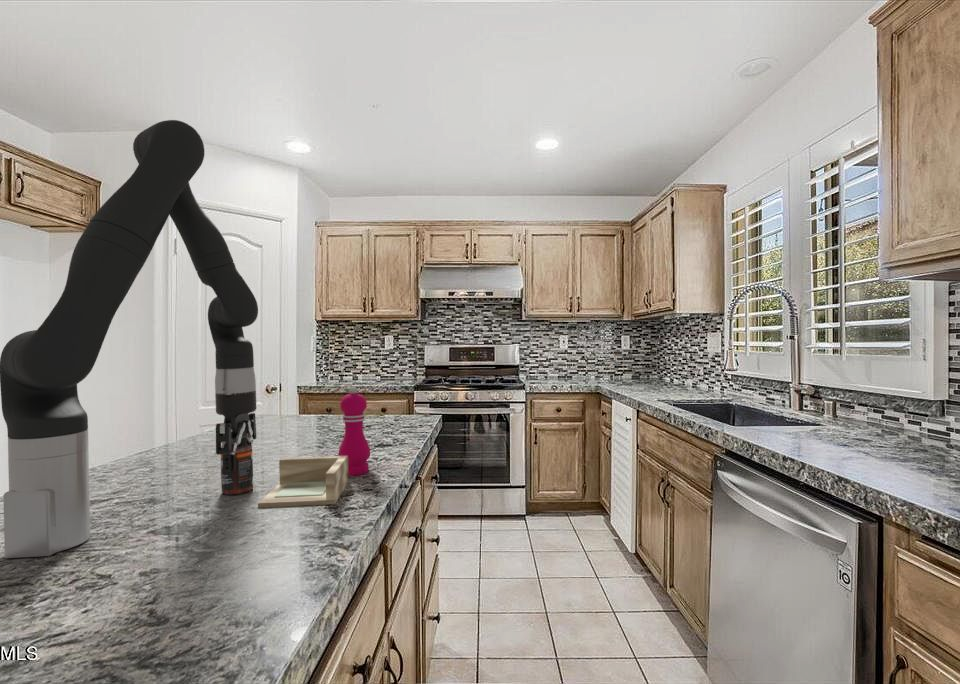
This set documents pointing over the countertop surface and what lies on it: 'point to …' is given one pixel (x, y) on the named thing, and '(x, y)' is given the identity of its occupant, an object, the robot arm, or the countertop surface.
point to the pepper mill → (354, 433)
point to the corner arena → (308, 481)
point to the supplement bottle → (239, 471)
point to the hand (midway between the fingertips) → (238, 467)
